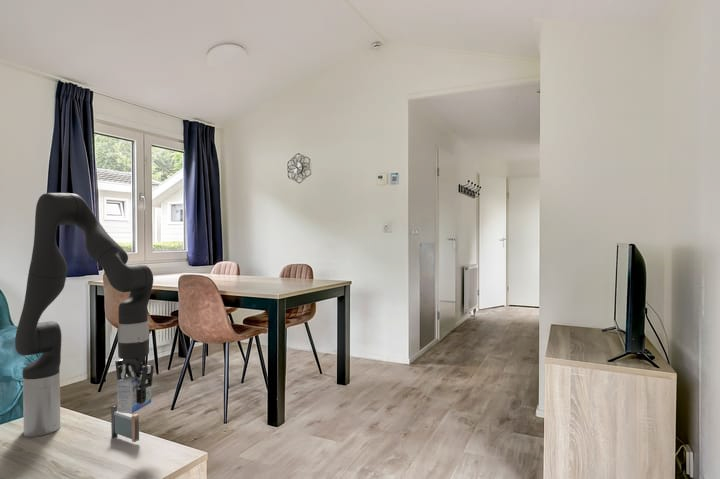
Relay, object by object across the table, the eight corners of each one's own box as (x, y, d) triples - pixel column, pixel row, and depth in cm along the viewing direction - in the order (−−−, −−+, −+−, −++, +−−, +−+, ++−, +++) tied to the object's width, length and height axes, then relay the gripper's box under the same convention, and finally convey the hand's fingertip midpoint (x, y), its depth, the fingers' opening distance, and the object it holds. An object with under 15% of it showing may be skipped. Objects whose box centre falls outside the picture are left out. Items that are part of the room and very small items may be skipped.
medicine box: (131, 414, 115) (131, 381, 115) (116, 412, 116) (116, 380, 116) (151, 403, 123) (151, 372, 123) (137, 401, 124) (137, 371, 124)
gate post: (110, 436, 131) (109, 406, 131) (115, 434, 132) (115, 404, 132) (113, 438, 130) (113, 407, 130) (118, 435, 131) (118, 405, 131)
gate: (114, 434, 130) (114, 409, 130) (119, 433, 131) (118, 408, 131) (134, 442, 125) (134, 416, 125) (139, 440, 126) (138, 414, 126)
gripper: (104, 338, 120) (105, 400, 120) (136, 344, 113) (137, 410, 113) (131, 333, 126) (132, 392, 127) (162, 338, 119) (163, 400, 119)
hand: (134, 400), depth 120 cm, fingers closed on medicine box, 5 cm apart
